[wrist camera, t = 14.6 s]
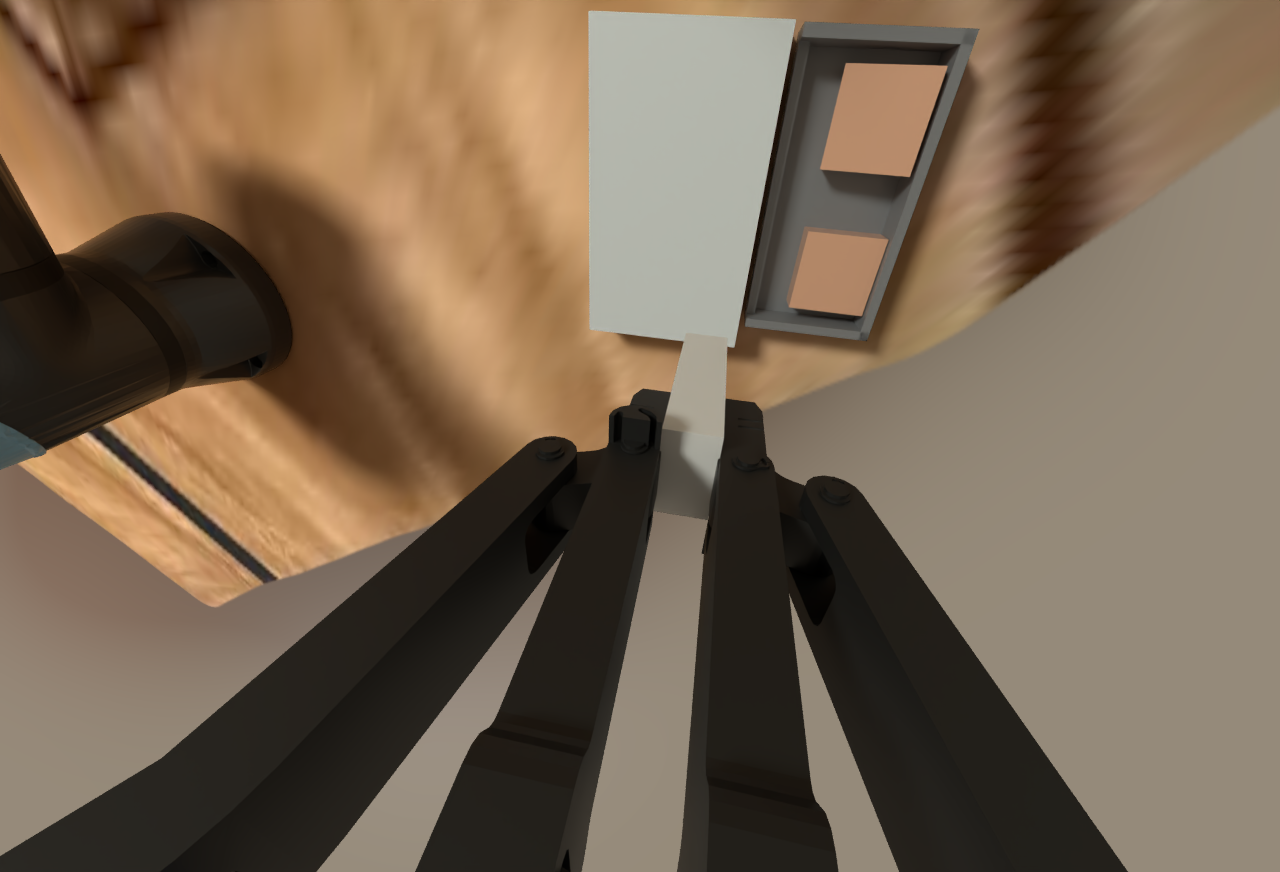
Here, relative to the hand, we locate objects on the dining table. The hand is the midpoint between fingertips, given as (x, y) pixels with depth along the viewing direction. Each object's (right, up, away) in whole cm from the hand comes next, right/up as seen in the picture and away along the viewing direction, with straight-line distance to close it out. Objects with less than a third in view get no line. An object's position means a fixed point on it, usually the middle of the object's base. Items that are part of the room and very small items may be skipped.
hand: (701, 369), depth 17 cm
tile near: (+11, +15, +8) cm, 21 cm away
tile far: (+11, +8, +14) cm, 19 cm away
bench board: (0, +14, +15) cm, 21 cm away
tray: (+11, +13, +13) cm, 22 cm away
